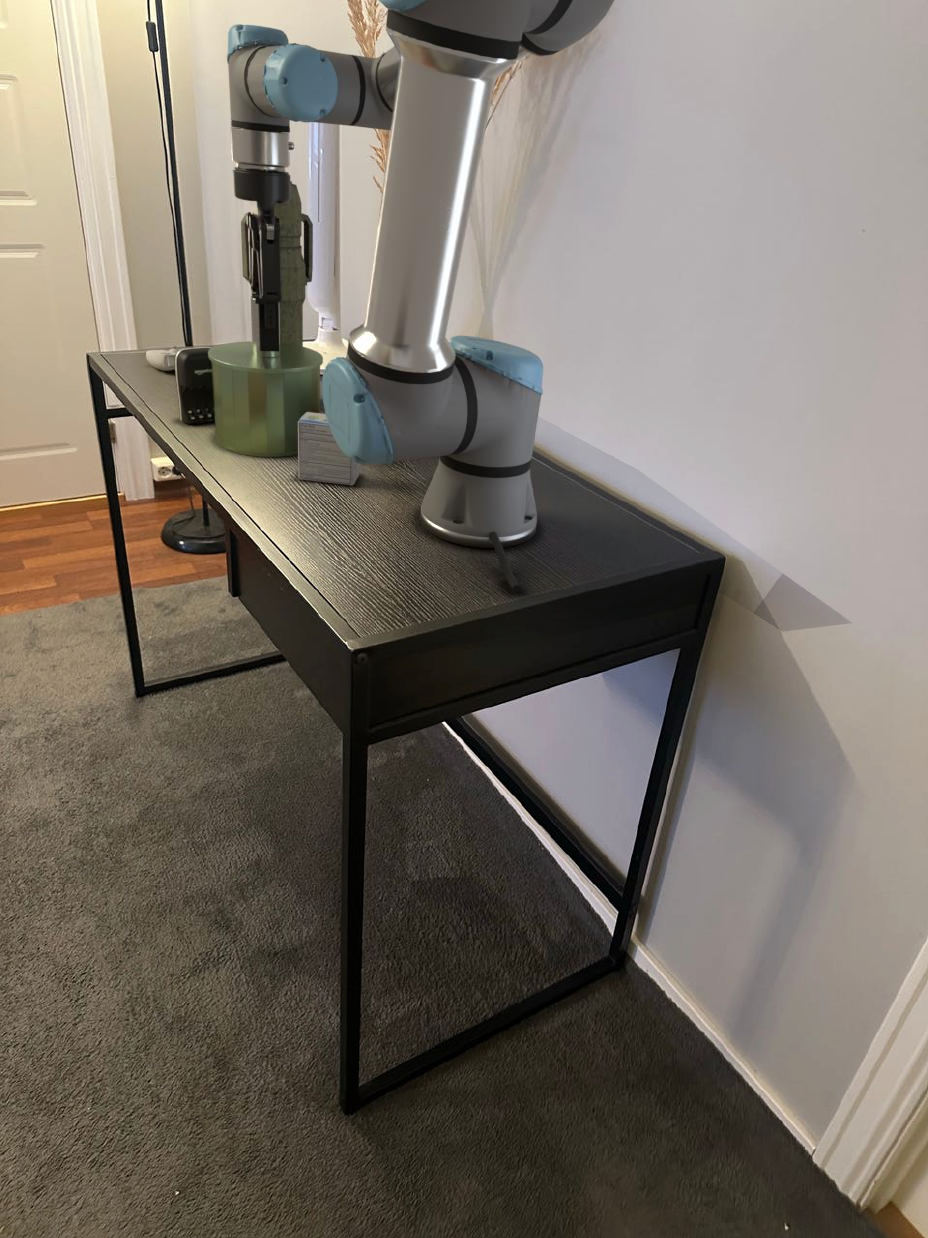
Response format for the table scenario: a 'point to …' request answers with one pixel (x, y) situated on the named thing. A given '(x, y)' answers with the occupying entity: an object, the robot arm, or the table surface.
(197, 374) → the battery charger
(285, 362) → the bin lid
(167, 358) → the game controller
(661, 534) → the table surface
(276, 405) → the green pot
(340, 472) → the medicine box
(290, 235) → the thermos
